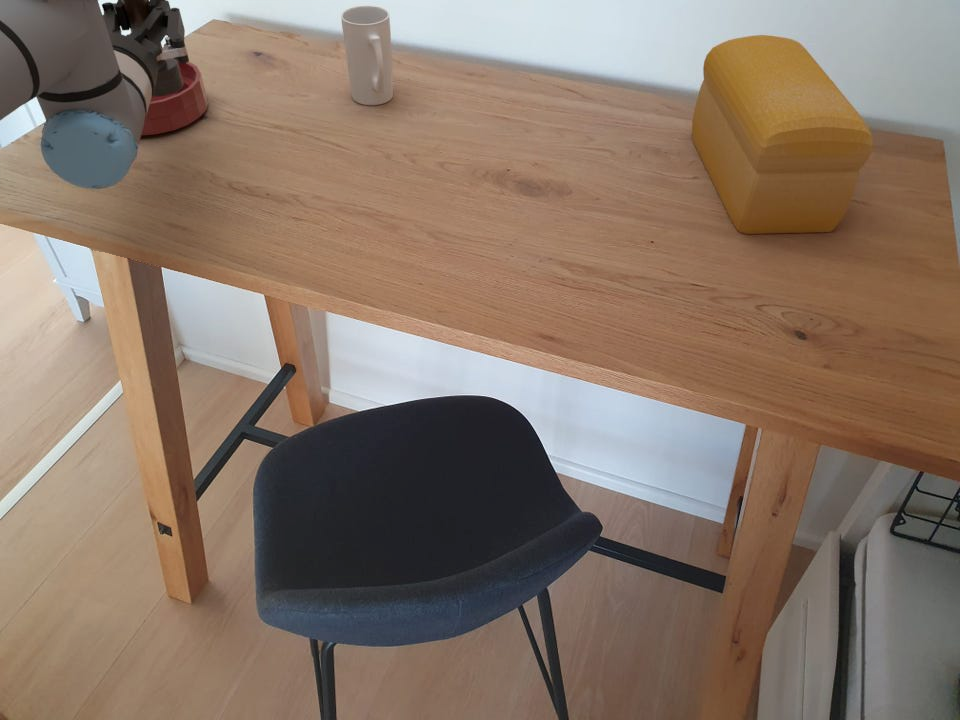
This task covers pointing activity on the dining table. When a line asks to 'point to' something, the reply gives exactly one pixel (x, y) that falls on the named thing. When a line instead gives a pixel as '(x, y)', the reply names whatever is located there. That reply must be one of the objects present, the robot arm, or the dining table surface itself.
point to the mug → (368, 54)
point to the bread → (777, 137)
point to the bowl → (177, 104)
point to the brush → (169, 74)
